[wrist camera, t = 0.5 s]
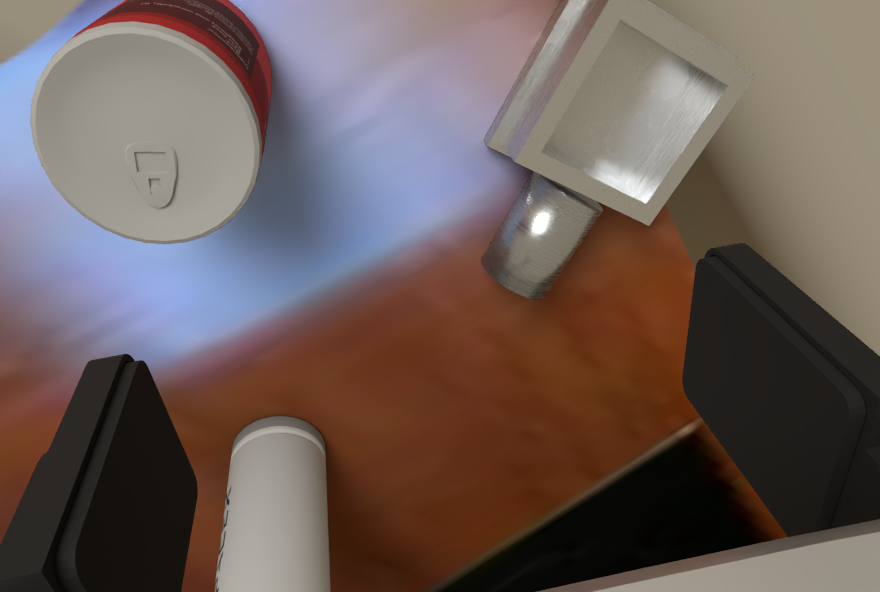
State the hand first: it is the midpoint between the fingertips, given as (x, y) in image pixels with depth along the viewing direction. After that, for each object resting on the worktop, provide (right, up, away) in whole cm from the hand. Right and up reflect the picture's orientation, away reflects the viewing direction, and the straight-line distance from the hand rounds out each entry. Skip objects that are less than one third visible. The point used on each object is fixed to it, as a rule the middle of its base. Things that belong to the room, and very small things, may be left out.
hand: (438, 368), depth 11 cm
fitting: (+8, +10, +27) cm, 30 cm away
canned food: (-12, +12, +21) cm, 28 cm away
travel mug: (-11, -9, +35) cm, 38 cm away
